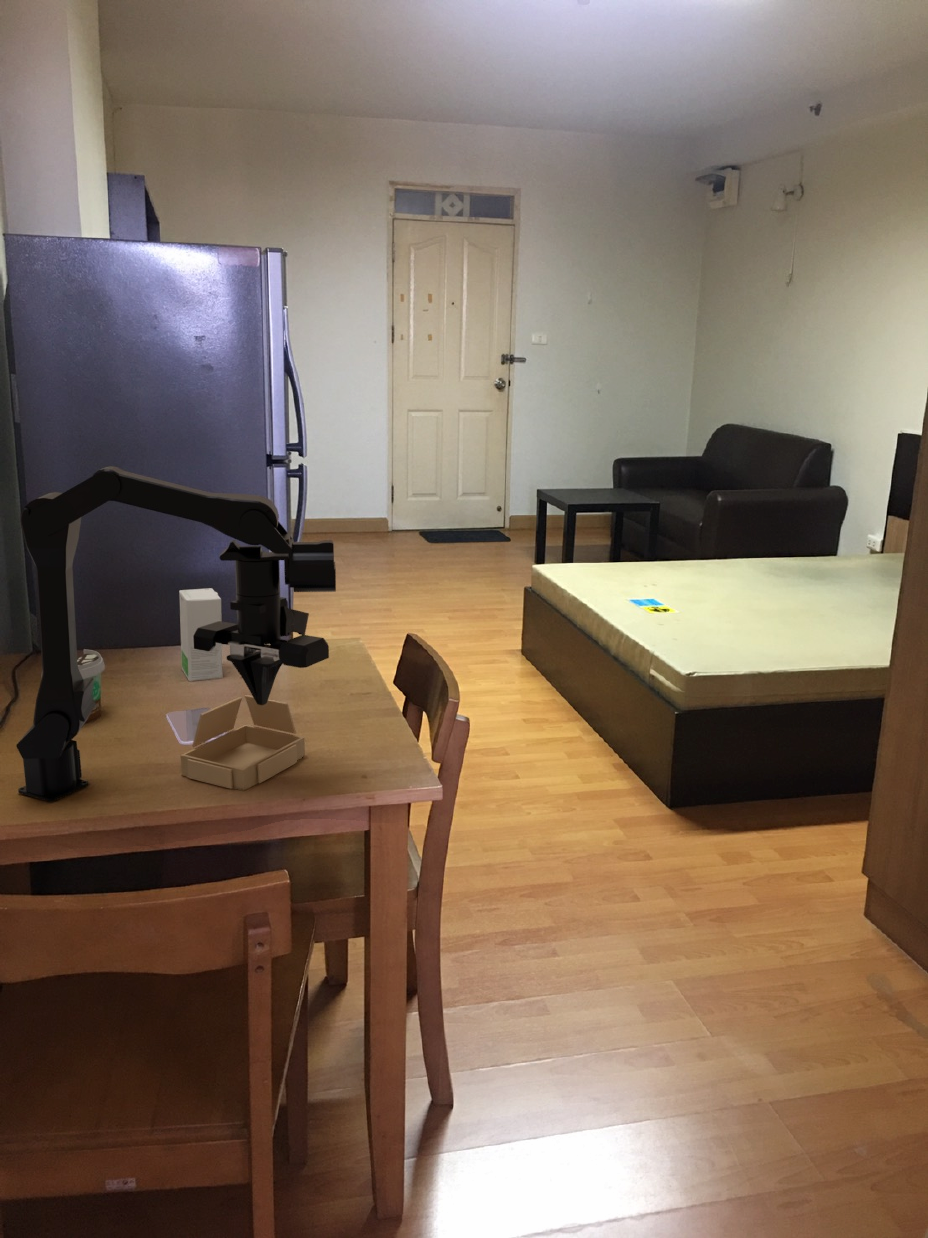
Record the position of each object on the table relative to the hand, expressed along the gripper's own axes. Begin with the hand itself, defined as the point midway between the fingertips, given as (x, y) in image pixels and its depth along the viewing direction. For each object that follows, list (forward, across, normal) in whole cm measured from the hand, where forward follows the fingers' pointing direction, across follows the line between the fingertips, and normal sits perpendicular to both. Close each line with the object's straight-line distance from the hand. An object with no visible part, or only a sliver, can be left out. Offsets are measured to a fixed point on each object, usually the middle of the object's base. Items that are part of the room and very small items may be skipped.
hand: (262, 704), depth 132 cm
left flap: (+8, +11, -3) cm, 14 cm away
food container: (+12, +41, -6) cm, 43 cm away
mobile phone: (+12, +23, -12) cm, 29 cm away
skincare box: (+12, +41, -34) cm, 54 cm away
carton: (+11, +6, -3) cm, 13 cm away
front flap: (+8, +6, -10) cm, 14 cm away
